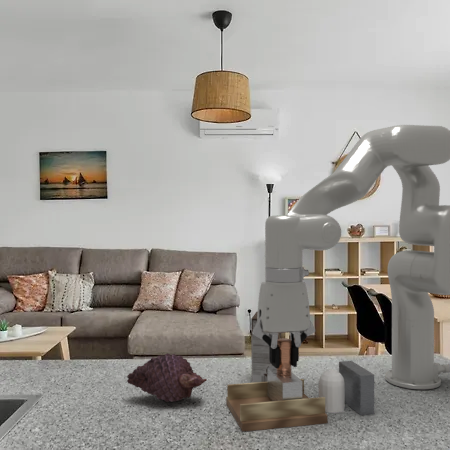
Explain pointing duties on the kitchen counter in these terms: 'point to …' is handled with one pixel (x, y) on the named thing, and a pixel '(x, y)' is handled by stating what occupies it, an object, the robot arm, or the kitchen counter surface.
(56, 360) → the kitchen counter surface
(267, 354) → the coffee box
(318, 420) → the base
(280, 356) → the ram
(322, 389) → the capsule
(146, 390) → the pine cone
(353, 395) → the gray rectangular block
